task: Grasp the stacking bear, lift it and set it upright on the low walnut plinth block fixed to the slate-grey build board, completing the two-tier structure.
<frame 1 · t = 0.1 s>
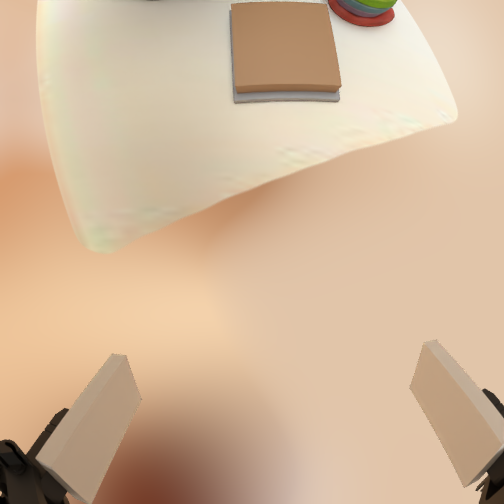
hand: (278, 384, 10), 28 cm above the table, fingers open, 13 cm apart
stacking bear: (356, 6, 28), on the table
build board: (282, 51, 31), on the table
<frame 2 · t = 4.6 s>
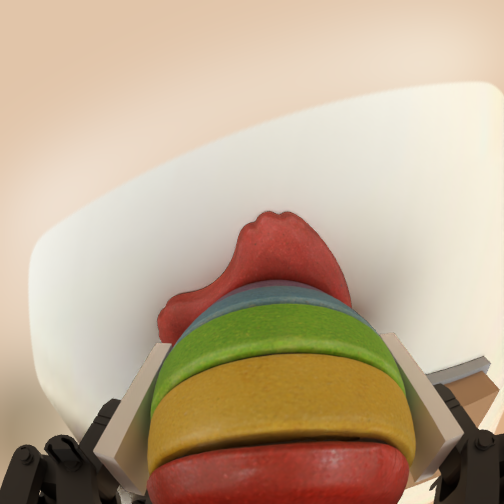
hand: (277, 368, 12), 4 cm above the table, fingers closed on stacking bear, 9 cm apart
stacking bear: (269, 322, 16), on the table, touching gripper
build board: (394, 432, 18), on the table
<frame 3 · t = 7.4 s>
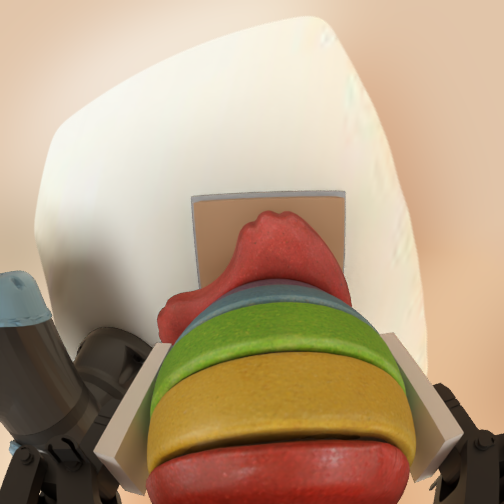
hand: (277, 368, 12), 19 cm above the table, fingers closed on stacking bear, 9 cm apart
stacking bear: (269, 322, 16), point 15 cm above the table, touching gripper
build board: (270, 256, 30), on the table
when the fingers open (10 cm above the table, at t = 10.3 s): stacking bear drops 2 cm, resting on build board.
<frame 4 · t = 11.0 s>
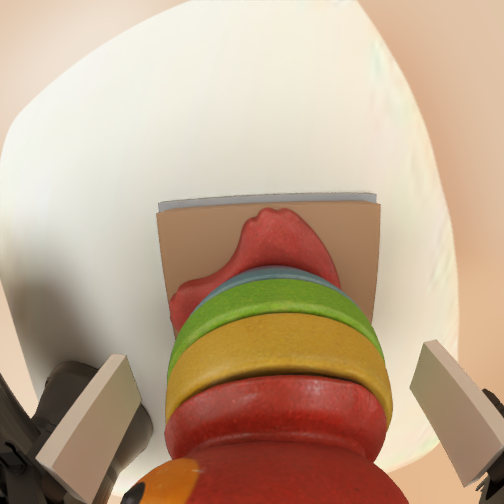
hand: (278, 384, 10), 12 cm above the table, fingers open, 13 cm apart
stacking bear: (269, 306, 18), point 4 cm above the table, touching build board
build board: (271, 284, 22), on the table
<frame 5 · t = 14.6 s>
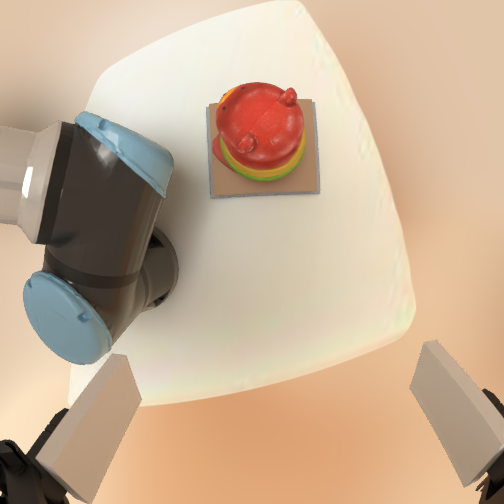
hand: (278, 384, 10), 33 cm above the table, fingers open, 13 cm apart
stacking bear: (261, 145, 35), point 4 cm above the table, touching build board
build board: (263, 148, 39), on the table
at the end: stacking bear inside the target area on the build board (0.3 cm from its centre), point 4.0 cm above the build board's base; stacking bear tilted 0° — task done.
